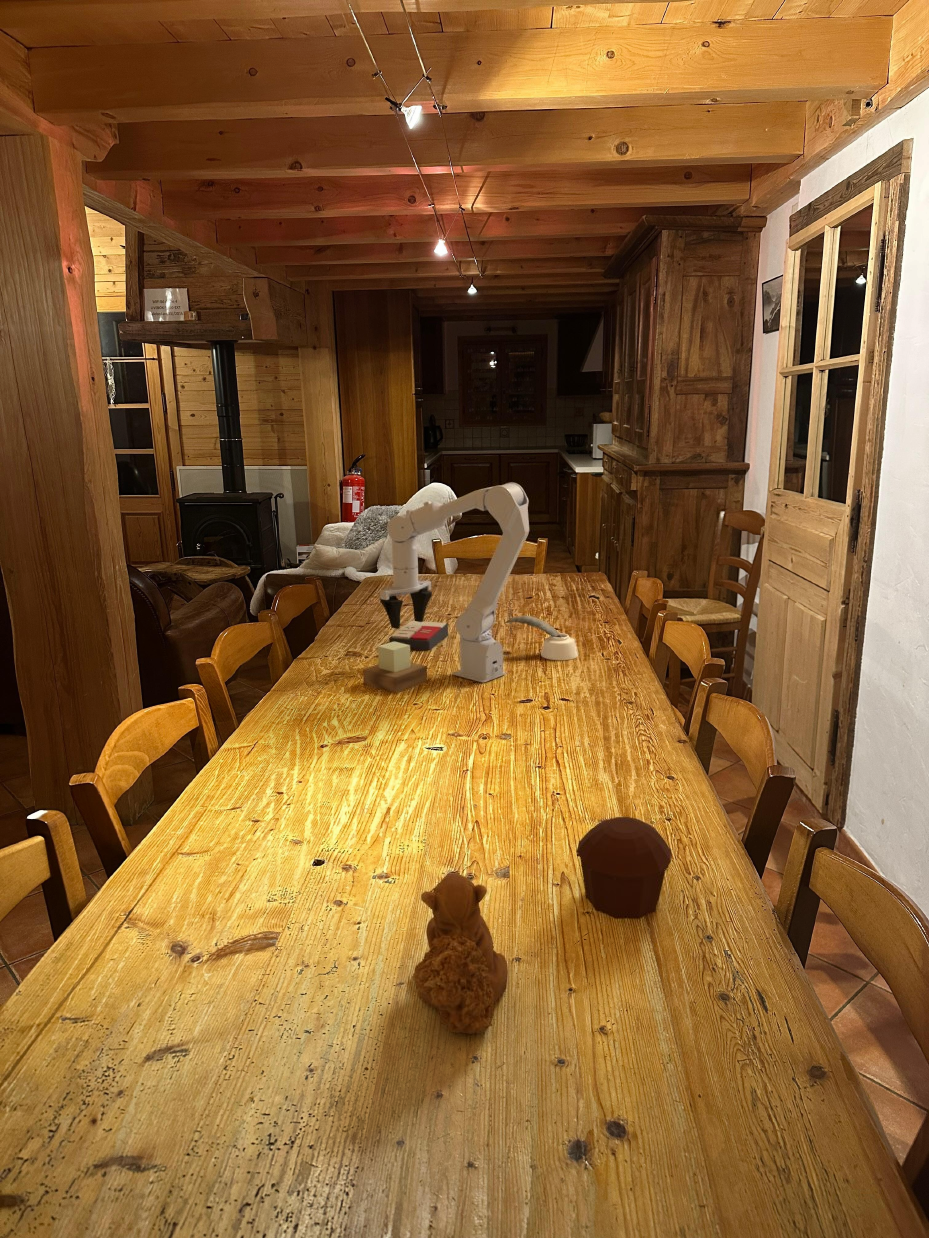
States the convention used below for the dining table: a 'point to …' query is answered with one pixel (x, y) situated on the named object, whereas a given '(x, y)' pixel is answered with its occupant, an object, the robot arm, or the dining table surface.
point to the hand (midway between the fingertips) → (407, 624)
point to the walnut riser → (395, 678)
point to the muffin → (623, 867)
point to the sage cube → (394, 656)
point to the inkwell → (551, 640)
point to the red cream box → (421, 635)
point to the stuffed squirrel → (460, 958)
